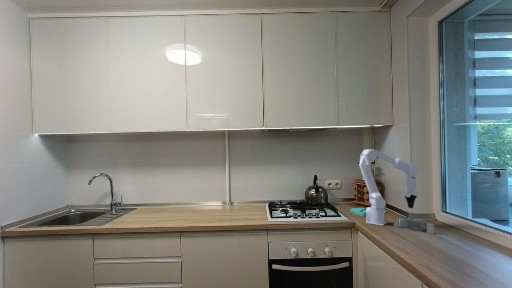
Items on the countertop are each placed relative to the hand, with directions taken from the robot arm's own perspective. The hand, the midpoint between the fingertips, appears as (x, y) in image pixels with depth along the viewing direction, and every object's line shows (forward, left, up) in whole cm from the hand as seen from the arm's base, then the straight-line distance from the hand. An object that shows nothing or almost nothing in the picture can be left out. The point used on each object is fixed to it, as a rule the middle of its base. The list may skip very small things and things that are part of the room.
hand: (410, 207), depth 159 cm
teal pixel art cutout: (-29, +10, -10) cm, 32 cm away
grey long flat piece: (+4, -12, -9) cm, 16 cm away
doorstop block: (+5, -11, -10) cm, 15 cm away
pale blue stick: (+2, -8, -9) cm, 12 cm away
